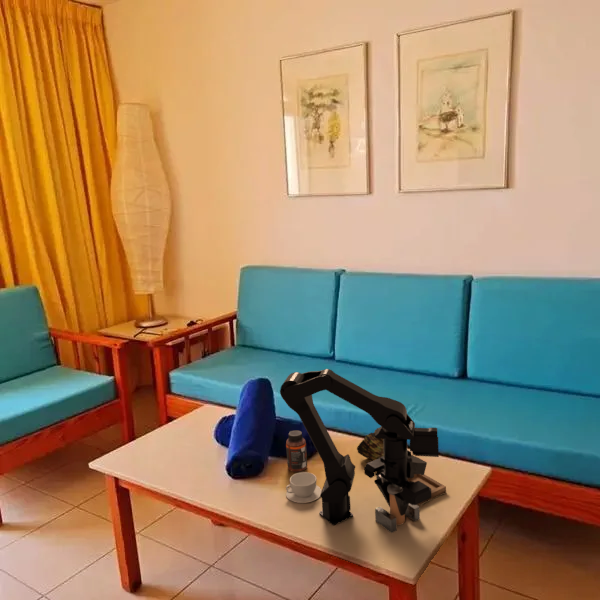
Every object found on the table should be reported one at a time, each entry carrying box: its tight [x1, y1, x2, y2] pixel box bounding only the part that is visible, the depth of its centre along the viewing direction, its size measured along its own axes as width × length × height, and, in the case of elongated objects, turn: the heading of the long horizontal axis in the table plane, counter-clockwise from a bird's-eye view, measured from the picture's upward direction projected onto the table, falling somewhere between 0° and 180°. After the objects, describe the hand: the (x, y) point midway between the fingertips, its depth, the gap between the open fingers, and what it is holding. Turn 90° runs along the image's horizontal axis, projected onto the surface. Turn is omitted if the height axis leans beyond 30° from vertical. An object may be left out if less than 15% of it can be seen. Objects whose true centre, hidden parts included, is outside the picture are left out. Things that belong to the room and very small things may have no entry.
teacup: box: [285, 471, 322, 504], centre depth 154 cm, size 10×10×5 cm
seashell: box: [356, 427, 384, 461], centre depth 170 cm, size 11×11×10 cm
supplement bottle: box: [285, 430, 308, 473], centre depth 167 cm, size 6×6×11 cm
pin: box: [387, 483, 406, 526], centre depth 139 cm, size 5×5×9 cm
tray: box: [408, 473, 447, 507], centre depth 152 cm, size 11×11×2 cm
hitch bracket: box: [374, 503, 421, 534], centre depth 139 cm, size 9×6×4 cm, turn 122°
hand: (397, 511), depth 139 cm, fingers closed on pin, 4 cm apart
